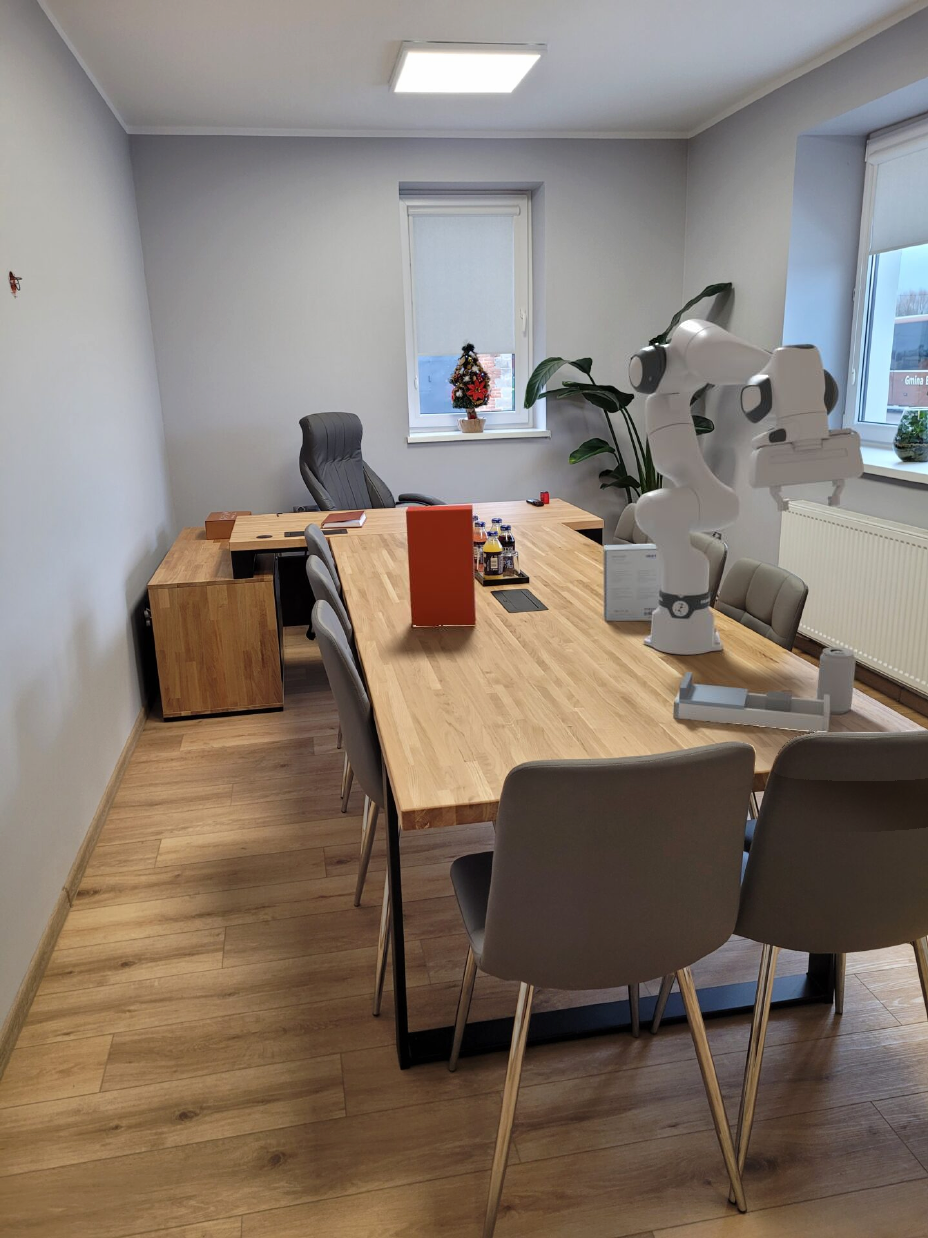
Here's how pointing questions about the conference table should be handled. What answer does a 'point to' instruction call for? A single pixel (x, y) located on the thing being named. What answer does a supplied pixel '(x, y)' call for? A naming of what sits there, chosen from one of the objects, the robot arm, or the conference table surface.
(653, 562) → the hard drive box
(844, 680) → the beverage can
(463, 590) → the file binder
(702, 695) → the cover
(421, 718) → the conference table surface
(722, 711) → the tray
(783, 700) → the block
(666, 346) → the robot arm
